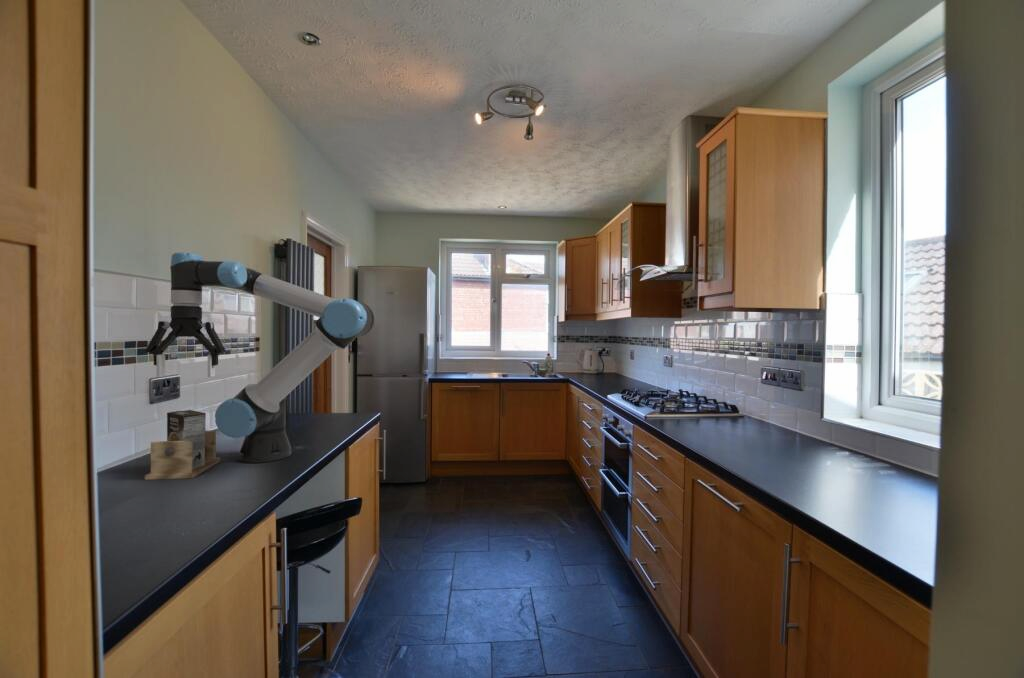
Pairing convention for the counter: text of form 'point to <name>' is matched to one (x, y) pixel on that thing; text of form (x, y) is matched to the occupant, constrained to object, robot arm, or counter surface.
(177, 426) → the coffee box
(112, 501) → the counter surface
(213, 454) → the oak holder
